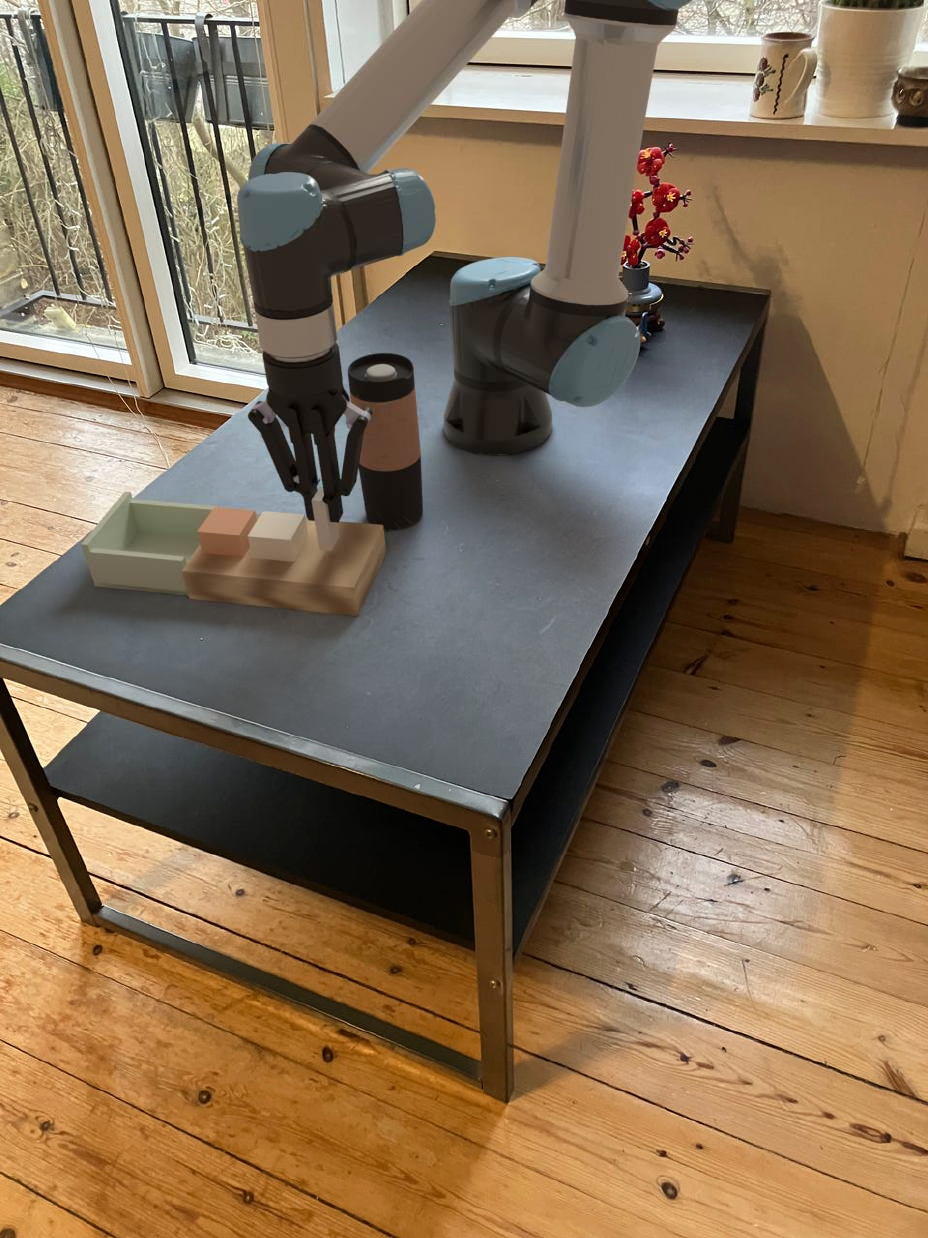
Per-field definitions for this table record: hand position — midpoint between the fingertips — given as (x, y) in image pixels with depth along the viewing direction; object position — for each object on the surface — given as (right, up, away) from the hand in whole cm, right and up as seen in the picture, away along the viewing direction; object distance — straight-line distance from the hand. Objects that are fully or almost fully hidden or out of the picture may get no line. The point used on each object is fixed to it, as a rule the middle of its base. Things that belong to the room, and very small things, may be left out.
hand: (329, 542), depth 116 cm
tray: (-21, -2, +7) cm, 22 cm away
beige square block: (-6, 0, +2) cm, 6 cm away
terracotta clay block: (-12, 0, +3) cm, 12 cm away
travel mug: (+6, +4, +13) cm, 16 cm away
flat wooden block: (-5, -4, +4) cm, 8 cm away
